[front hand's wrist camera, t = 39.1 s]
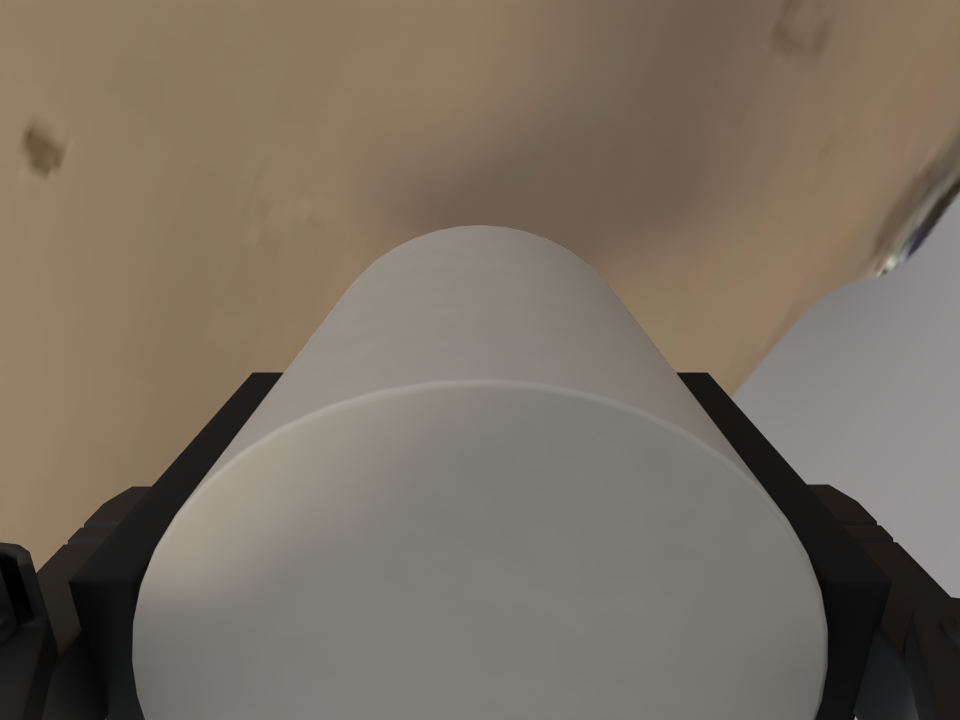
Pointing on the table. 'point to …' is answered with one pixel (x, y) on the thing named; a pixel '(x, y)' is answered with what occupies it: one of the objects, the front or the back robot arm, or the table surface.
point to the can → (480, 521)
